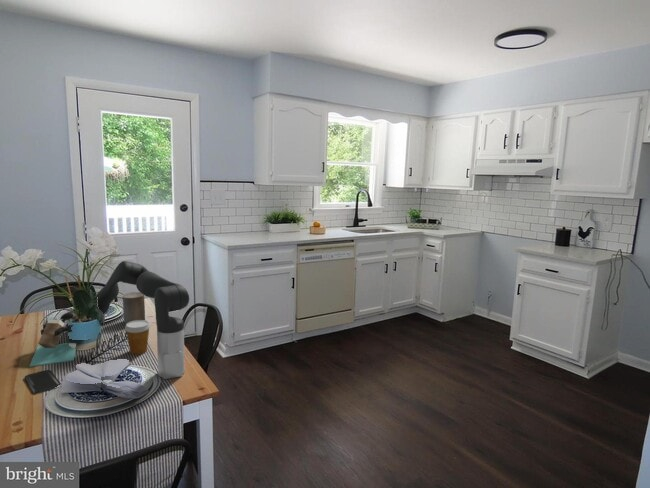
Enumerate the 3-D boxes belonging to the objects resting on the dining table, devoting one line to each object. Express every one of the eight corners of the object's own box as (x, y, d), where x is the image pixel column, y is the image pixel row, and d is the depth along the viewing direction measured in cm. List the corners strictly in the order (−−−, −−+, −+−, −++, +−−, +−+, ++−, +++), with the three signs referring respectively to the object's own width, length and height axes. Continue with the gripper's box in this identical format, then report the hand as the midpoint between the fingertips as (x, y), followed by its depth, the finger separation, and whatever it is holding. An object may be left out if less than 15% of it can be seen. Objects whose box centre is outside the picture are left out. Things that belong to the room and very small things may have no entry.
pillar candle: (149, 319, 206) (148, 290, 204) (136, 326, 197) (135, 295, 195) (132, 317, 208) (131, 288, 206) (119, 323, 199) (117, 293, 197)
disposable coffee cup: (142, 344, 177) (141, 318, 175) (155, 350, 172) (155, 323, 170) (121, 351, 169) (120, 324, 167) (134, 358, 164) (133, 329, 162)
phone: (49, 369, 151) (61, 384, 141) (50, 371, 151) (61, 387, 141) (23, 375, 146) (33, 392, 135) (23, 378, 146) (34, 395, 136)
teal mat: (73, 360, 160) (73, 359, 160) (29, 366, 154) (29, 365, 154) (77, 342, 176) (77, 341, 176) (37, 347, 169) (37, 346, 169)
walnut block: (55, 348, 161) (65, 324, 167) (49, 344, 158) (60, 319, 163) (44, 347, 161) (54, 324, 167) (37, 343, 158) (48, 319, 163)
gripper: (57, 309, 176) (29, 323, 160) (91, 310, 177) (66, 324, 160) (59, 325, 178) (31, 341, 161) (92, 327, 178) (67, 343, 161)
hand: (48, 333), depth 160 cm, fingers open, 4 cm apart
